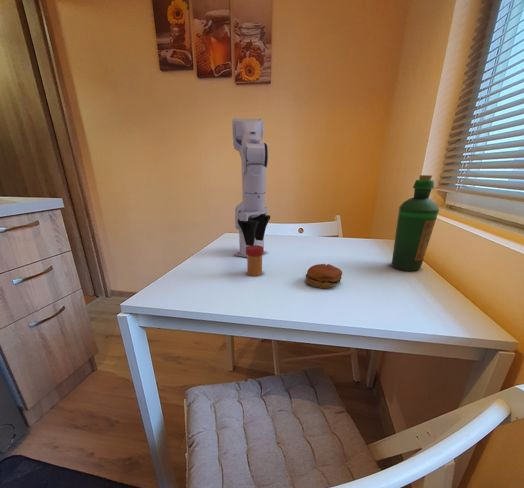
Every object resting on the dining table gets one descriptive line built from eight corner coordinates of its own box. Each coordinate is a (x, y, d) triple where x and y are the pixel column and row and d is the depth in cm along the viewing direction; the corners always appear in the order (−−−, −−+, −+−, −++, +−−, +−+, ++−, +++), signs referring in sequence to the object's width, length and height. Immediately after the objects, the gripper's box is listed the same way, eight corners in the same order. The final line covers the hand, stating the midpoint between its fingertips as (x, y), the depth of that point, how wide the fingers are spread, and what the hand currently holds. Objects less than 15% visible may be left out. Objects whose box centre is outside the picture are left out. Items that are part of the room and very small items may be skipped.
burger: (309, 289, 73) (310, 272, 72) (302, 276, 82) (304, 261, 80) (346, 289, 74) (348, 272, 72) (335, 276, 82) (337, 261, 81)
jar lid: (251, 250, 85) (251, 244, 84) (266, 253, 82) (266, 246, 82) (242, 254, 81) (242, 248, 80) (257, 257, 78) (257, 250, 78)
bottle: (430, 273, 86) (456, 176, 75) (395, 272, 86) (416, 175, 75) (414, 262, 96) (434, 175, 85) (382, 261, 96) (399, 174, 85)
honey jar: (252, 270, 87) (252, 246, 84) (264, 272, 85) (264, 248, 82) (244, 274, 83) (244, 249, 80) (257, 277, 81) (257, 252, 78)
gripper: (252, 190, 82) (252, 236, 88) (228, 194, 70) (230, 246, 75) (274, 191, 80) (273, 238, 85) (253, 195, 68) (253, 249, 73)
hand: (254, 242), depth 80 cm, fingers open, 6 cm apart
